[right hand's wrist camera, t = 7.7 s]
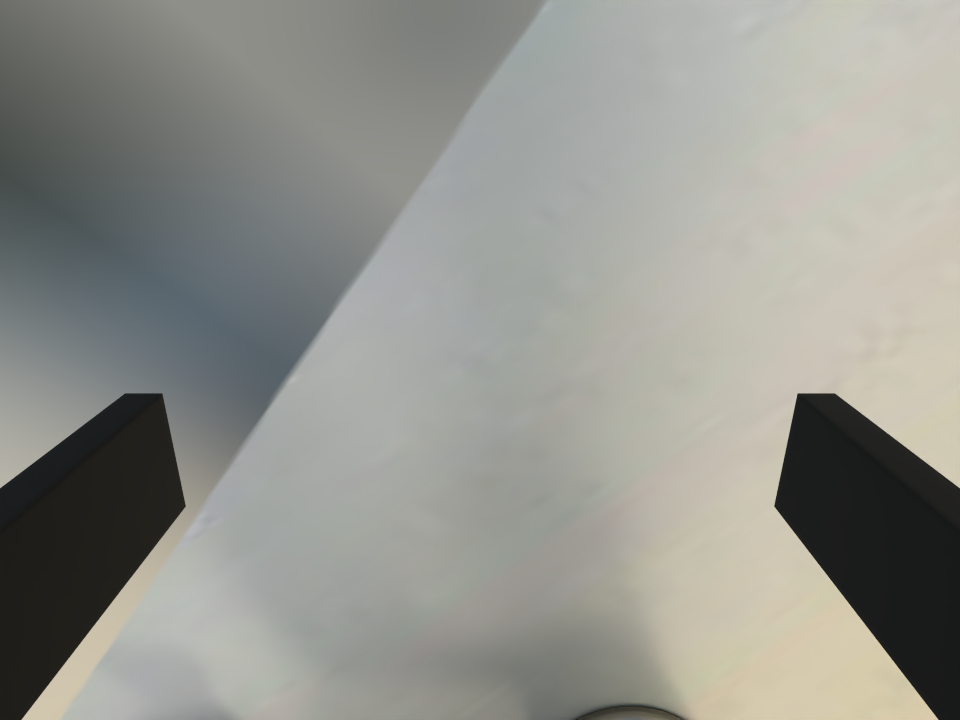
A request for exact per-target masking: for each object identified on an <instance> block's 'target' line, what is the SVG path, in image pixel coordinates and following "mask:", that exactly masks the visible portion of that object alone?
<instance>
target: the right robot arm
mask: <svg viewBox="0 0 960 720" xmlns="http://www.w3.org/2000/svg"><path fill="white" fill-rule="evenodd" d="M774 507H775V508H776V509H777V510H778V512H779V513H780V514H781V516H782V517H783V518H784V520H785V521H786V522H787V523H788V525H789V526H790V527H791V529H792V530H793V531H794V533H795V534H796V535H797V536H798V538H799V539H800V540H801V542H802V543H803V544H804V546H805V547H806V548H807V549H808V551H809V552H810V553H811V555H812V556H813V557H814V559H815V560H816V561H817V562H818V564H819V565H820V566H821V568H822V569H823V570H824V571H825V573H826V574H827V575H828V577H829V578H830V579H831V581H832V582H833V583H834V584H835V586H836V587H837V588H838V590H839V591H840V592H841V594H842V595H843V596H844V597H845V599H846V600H847V601H848V603H849V604H850V605H851V607H852V608H853V609H854V610H855V612H856V613H857V614H858V616H859V617H860V618H861V620H862V621H863V622H864V623H865V625H866V626H867V627H868V629H869V630H870V631H871V633H872V634H873V635H874V636H875V638H876V639H877V640H878V642H879V643H880V644H881V646H882V647H883V648H884V649H885V651H886V652H887V653H888V655H889V656H890V657H891V658H892V660H893V661H894V662H895V664H896V665H897V666H898V668H899V669H900V670H901V671H902V673H903V674H904V675H905V677H906V678H907V679H908V681H909V682H910V683H911V684H912V686H913V687H914V688H915V690H916V691H917V692H918V694H919V695H920V696H921V697H922V699H923V700H924V701H925V703H926V704H927V705H928V707H929V708H930V709H931V710H932V712H933V713H934V714H935V716H936V717H937V718H938V720H960V488H959V487H957V486H956V485H955V484H953V483H952V482H951V481H949V480H948V479H947V478H945V477H944V476H943V475H941V474H940V473H939V472H937V471H936V470H935V469H934V468H932V467H931V466H930V465H928V464H927V463H926V462H924V461H923V460H922V459H920V458H919V457H918V456H916V455H915V454H914V453H912V452H911V451H910V450H909V449H907V448H906V447H905V446H903V445H902V444H901V443H899V442H898V441H897V440H895V439H894V438H893V437H891V436H890V435H889V434H887V433H886V432H885V431H883V430H882V429H881V428H880V427H878V426H877V425H876V424H874V423H873V422H872V421H870V420H869V419H868V418H866V417H865V416H864V415H862V414H861V413H860V412H858V411H857V410H856V409H855V408H853V407H852V406H851V405H849V404H848V403H847V402H845V401H844V400H843V399H841V398H840V397H839V396H837V395H836V394H798V395H797V399H796V404H795V409H794V414H793V419H792V423H791V428H790V433H789V438H788V443H787V448H786V452H785V457H784V462H783V467H782V472H781V477H780V481H779V486H778V491H777V496H776V501H775V506H774ZM184 508H185V501H184V496H183V491H182V486H181V481H180V477H179V472H178V467H177V462H176V457H175V452H174V448H173V443H172V438H171V433H170V429H169V424H168V419H167V414H166V409H165V404H164V399H163V395H162V394H124V395H123V396H121V397H120V398H119V399H117V400H116V401H115V402H114V403H112V404H111V405H109V406H108V407H107V408H105V409H104V410H103V411H102V412H100V413H99V414H98V415H96V416H95V417H94V418H92V419H91V420H90V421H88V422H87V423H86V424H84V425H83V426H82V427H80V428H79V429H78V430H77V431H75V432H74V433H73V434H71V435H70V436H69V437H67V438H66V439H65V440H63V441H62V442H61V443H59V444H58V445H57V446H55V447H54V448H53V449H52V450H50V451H49V452H48V453H46V454H45V455H44V456H42V457H41V458H40V459H38V460H37V461H36V462H34V463H33V464H32V465H30V466H29V467H28V468H26V469H25V470H24V471H23V472H21V473H20V474H19V475H17V476H16V477H15V478H13V479H12V480H11V481H9V482H8V483H7V484H5V485H4V486H3V487H1V488H0V720H22V718H23V717H24V716H25V714H26V713H27V712H28V710H29V709H30V708H31V707H32V705H33V704H34V703H35V701H36V700H37V699H38V697H39V696H40V695H41V694H42V692H43V691H44V690H45V688H46V687H47V686H48V684H49V683H50V682H51V681H52V679H53V678H54V677H55V675H56V674H57V673H58V671H59V670H60V669H61V668H62V666H63V665H64V664H65V662H66V661H67V660H68V658H69V657H70V656H71V655H72V653H73V652H74V651H75V649H76V648H77V647H78V646H79V644H80V643H81V642H82V640H83V639H84V638H85V636H86V635H87V634H88V633H89V631H90V630H91V629H92V627H93V626H94V625H95V623H96V622H97V621H98V620H99V618H100V617H101V616H102V614H103V613H104V612H105V610H106V609H107V608H108V606H109V605H110V604H111V603H112V601H113V600H114V599H115V597H116V596H117V595H118V594H119V592H120V591H121V590H122V588H123V587H124V586H125V584H126V583H127V582H128V581H129V579H130V578H131V577H132V575H133V574H134V573H135V571H136V570H137V569H138V568H139V566H140V565H141V564H142V562H143V561H144V560H145V559H146V557H147V556H148V555H149V553H150V552H151V551H152V549H153V548H154V547H155V546H156V544H157V543H158V542H159V540H160V539H161V538H162V536H163V535H164V534H165V533H166V531H167V530H168V529H169V527H170V526H171V525H172V523H173V522H174V521H175V520H176V518H177V517H178V516H179V514H180V513H181V512H182V510H183V509H184ZM577 720H681V719H680V718H678V717H676V716H674V715H672V714H669V713H666V712H664V711H660V710H656V709H652V708H645V707H616V708H610V709H604V710H600V711H597V712H594V713H591V714H588V715H586V716H583V717H581V718H579V719H577Z"/></svg>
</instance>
